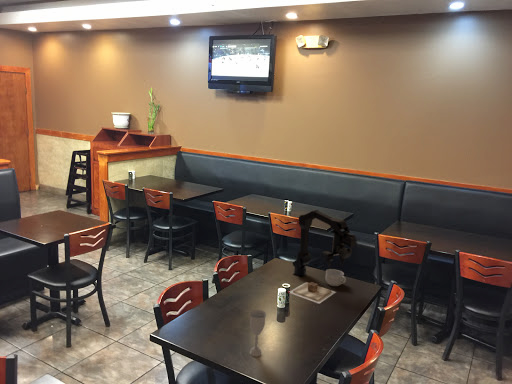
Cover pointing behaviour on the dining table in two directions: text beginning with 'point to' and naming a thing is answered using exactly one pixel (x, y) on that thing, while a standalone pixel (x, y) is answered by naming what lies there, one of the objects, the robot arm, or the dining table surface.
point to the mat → (312, 299)
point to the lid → (312, 291)
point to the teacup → (334, 277)
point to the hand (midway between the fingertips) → (335, 267)
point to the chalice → (256, 328)
